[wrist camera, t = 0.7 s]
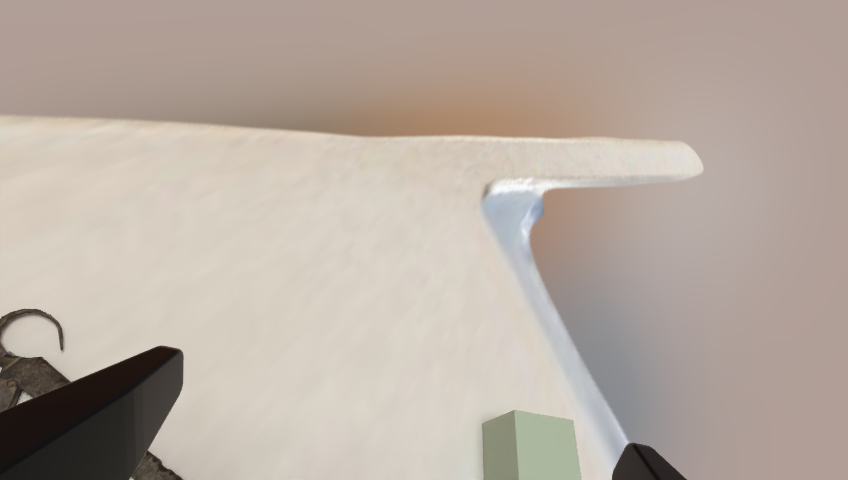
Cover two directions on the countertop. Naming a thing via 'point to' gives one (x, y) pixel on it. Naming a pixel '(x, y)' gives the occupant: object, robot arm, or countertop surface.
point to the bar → (530, 448)
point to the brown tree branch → (43, 378)
